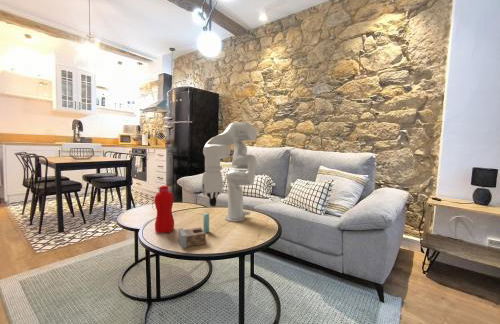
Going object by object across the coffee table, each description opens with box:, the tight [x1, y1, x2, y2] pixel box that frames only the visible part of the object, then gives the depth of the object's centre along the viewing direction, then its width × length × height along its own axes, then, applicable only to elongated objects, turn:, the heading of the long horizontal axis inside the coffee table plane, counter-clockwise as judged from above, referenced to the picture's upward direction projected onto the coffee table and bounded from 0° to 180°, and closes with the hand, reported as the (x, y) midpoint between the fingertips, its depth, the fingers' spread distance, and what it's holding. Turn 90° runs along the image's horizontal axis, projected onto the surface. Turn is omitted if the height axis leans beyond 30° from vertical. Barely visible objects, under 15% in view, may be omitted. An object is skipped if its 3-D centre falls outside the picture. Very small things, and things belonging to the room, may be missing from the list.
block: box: [183, 227, 207, 248], centre depth 114 cm, size 9×9×5 cm
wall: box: [177, 227, 188, 249], centre depth 112 cm, size 2×10×6 cm, turn 26°
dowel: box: [202, 212, 210, 234], centre depth 127 cm, size 3×3×10 cm
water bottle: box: [151, 185, 175, 234], centre depth 128 cm, size 9×11×25 cm
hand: (212, 205), depth 118 cm, fingers closed
